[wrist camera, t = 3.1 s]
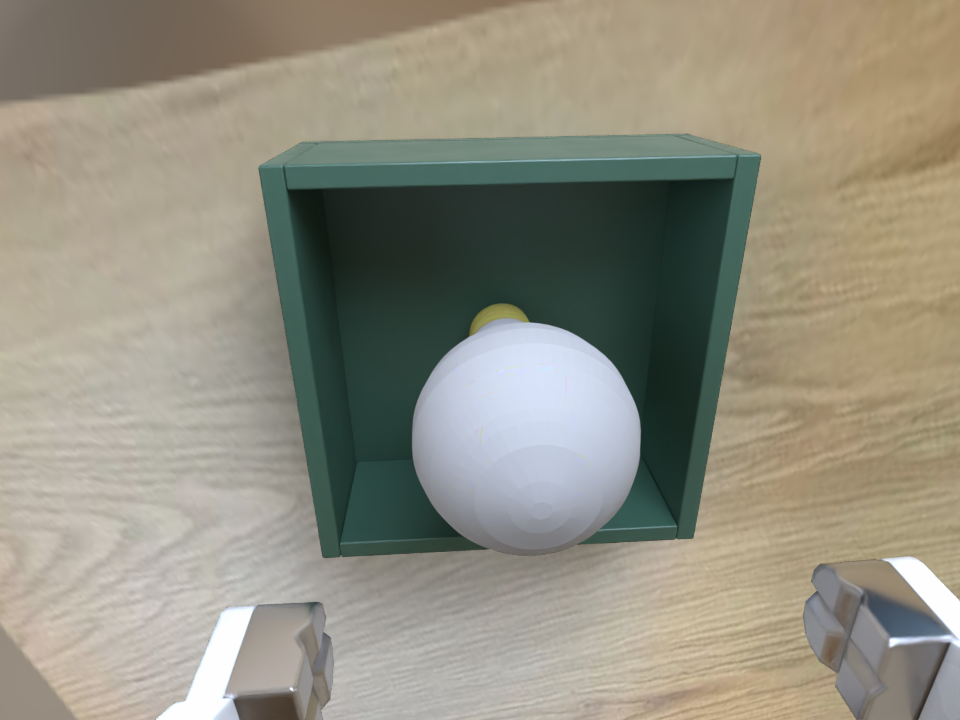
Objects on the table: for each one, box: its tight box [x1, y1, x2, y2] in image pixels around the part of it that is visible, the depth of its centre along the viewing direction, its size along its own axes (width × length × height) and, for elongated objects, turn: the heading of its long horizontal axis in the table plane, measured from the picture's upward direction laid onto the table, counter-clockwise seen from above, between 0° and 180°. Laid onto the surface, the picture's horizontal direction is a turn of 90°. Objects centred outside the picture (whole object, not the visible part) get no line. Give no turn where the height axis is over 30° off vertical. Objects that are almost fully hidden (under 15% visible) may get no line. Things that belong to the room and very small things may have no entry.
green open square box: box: [258, 134, 761, 558], centre depth 20 cm, size 12×12×5 cm
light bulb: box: [412, 303, 641, 556], centre depth 17 cm, size 6×6×10 cm
